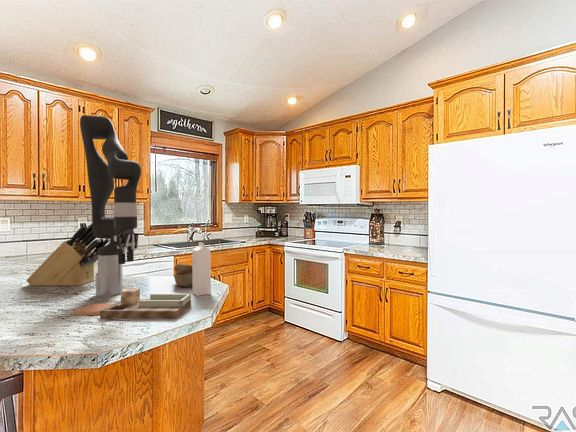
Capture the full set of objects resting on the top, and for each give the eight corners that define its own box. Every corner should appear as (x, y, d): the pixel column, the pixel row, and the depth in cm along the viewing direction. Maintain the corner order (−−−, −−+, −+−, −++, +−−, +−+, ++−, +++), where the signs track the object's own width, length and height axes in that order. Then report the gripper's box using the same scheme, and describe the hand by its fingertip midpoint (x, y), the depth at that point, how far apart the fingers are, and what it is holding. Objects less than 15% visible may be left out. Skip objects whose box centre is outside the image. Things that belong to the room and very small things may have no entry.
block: (120, 304, 109) (120, 291, 109) (127, 300, 114) (127, 288, 114) (133, 304, 109) (133, 291, 109) (139, 300, 114) (139, 288, 114)
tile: (73, 314, 106) (73, 311, 106) (90, 306, 115) (90, 303, 115) (99, 314, 105) (99, 311, 105) (114, 306, 114) (114, 303, 114)
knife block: (98, 286, 147) (97, 221, 147) (25, 286, 148) (24, 222, 147) (112, 281, 158) (111, 221, 158) (44, 281, 159) (43, 221, 159)
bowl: (160, 286, 146) (160, 265, 146) (184, 281, 158) (184, 261, 158) (187, 291, 137) (187, 268, 137) (210, 285, 149) (209, 264, 149)
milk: (197, 296, 129) (196, 243, 129) (192, 293, 134) (191, 242, 134) (211, 293, 133) (210, 242, 132) (205, 290, 138) (205, 241, 137)
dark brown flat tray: (100, 318, 102) (99, 310, 102) (123, 305, 116) (123, 299, 116) (176, 318, 101) (176, 311, 101) (190, 305, 115) (190, 299, 115)
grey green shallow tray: (138, 306, 106) (138, 300, 106) (151, 299, 116) (151, 293, 116) (181, 306, 106) (181, 300, 106) (190, 299, 115) (190, 293, 115)
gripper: (125, 215, 104) (125, 266, 104) (145, 215, 118) (146, 259, 118) (102, 216, 104) (103, 266, 104) (125, 215, 118) (126, 259, 119)
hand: (126, 262), depth 111 cm, fingers open, 5 cm apart
